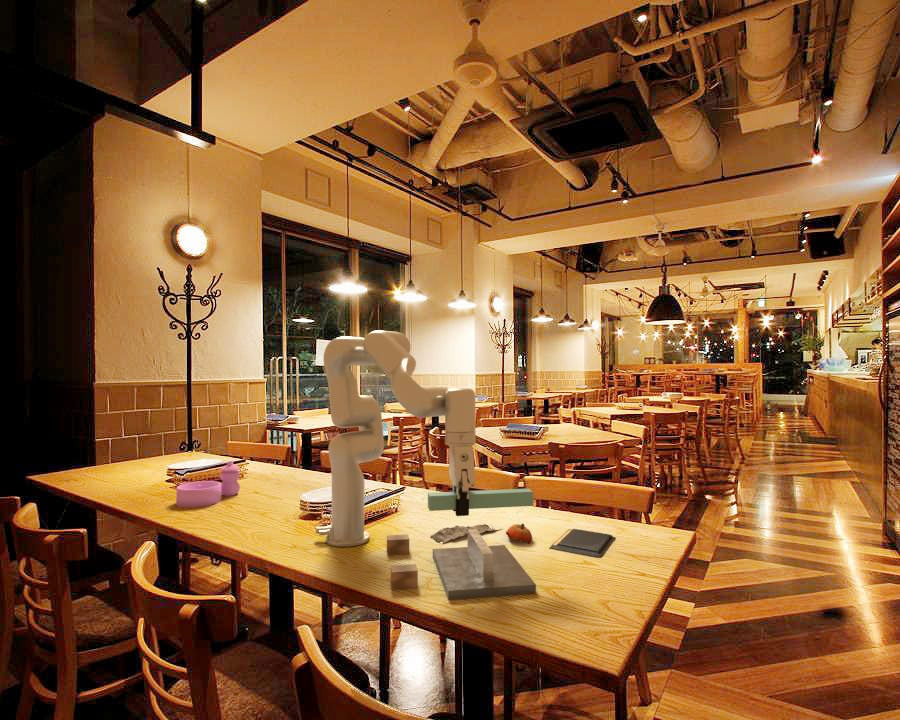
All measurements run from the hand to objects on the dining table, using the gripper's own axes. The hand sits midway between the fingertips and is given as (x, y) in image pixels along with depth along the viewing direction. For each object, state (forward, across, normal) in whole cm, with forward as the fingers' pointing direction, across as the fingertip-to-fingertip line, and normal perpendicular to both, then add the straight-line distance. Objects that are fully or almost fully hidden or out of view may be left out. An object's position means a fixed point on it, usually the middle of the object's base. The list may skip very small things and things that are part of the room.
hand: (460, 512), depth 123 cm
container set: (+14, +87, +83) cm, 121 cm away
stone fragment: (+16, +31, -8) cm, 36 cm away
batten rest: (+15, +7, +14) cm, 22 cm away
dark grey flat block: (+16, +17, -40) cm, 46 cm away
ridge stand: (+15, 0, -5) cm, 16 cm away
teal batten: (-1, 0, -5) cm, 5 cm away
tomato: (+16, +22, -22) cm, 35 cm away
